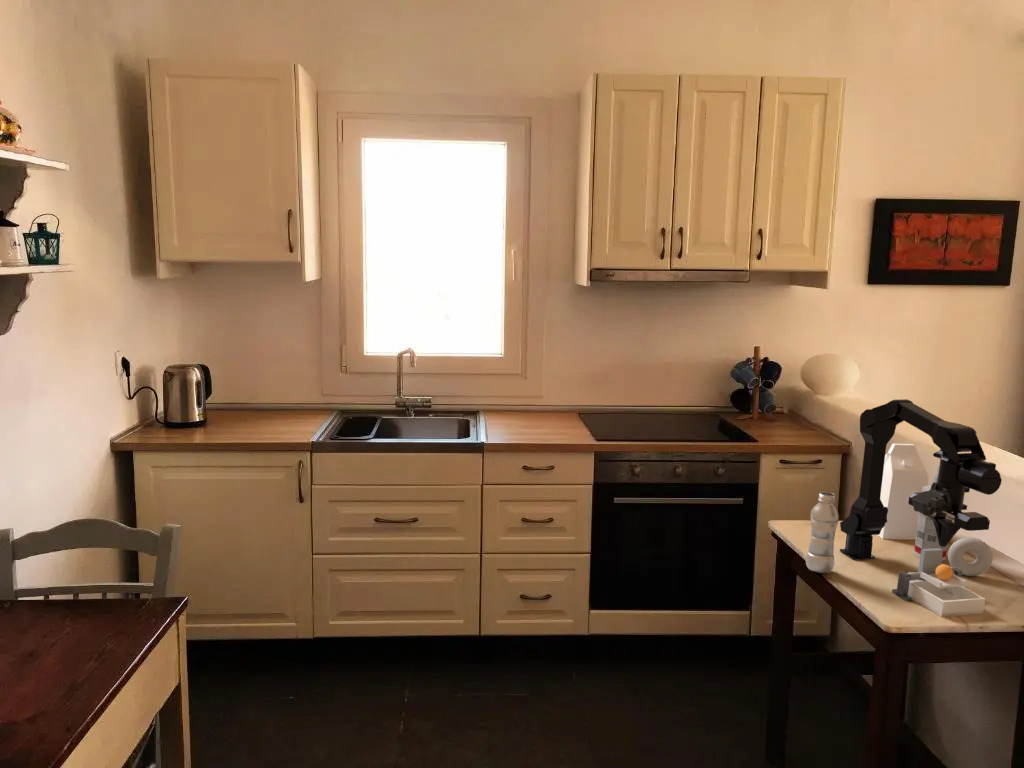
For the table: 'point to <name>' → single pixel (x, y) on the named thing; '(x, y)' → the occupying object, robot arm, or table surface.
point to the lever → (928, 567)
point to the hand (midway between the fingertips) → (942, 546)
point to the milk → (901, 490)
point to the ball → (944, 572)
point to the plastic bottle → (822, 534)
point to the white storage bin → (946, 599)
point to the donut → (970, 544)
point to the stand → (904, 584)
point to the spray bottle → (927, 530)
